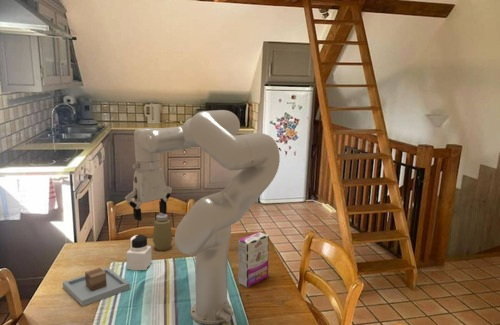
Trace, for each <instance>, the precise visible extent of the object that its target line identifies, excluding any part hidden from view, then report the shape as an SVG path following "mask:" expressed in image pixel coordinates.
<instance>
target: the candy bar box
mask: <svg viewBox="0 0 500 325" xmlns="http://www.w3.org/2000/svg"><path fill="white" fill-rule="evenodd" d="M269 236H270V234H267V233H264V232H262V231H257V232H256V233H253V234H251V235H248V236H245V237H243V238H240V239H238V240H237V246H238V247H237V258H238V260H237V262H238V263H237V264H238V265H237V266H238V268H237V269H238V270H237V272H238V274H237V275H238V276H237V278H238V279H237V280H238V282H237V283H238V284H239V285H241V286H243V287H245V288H250V287H251V286H254V285H256V284H258V283H260V282H261V281H263V280H266V279H268V278H269V252H270V251H269V245H270V243H269V241H270V239H269Z"/></svg>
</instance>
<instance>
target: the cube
mask: <svg viewBox="0 0 500 325" xmlns="http://www.w3.org/2000/svg"><path fill="white" fill-rule="evenodd" d="M84 275H85V280H86V286H87V287H88V288H89V289H90V290H91V291H95V290H98V289H101V288H104V287H106V286H107V283H106V272H104V271H103V269H102V268H100V267H98V268H94V269H91V270H88V271H85V272H84Z"/></svg>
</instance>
